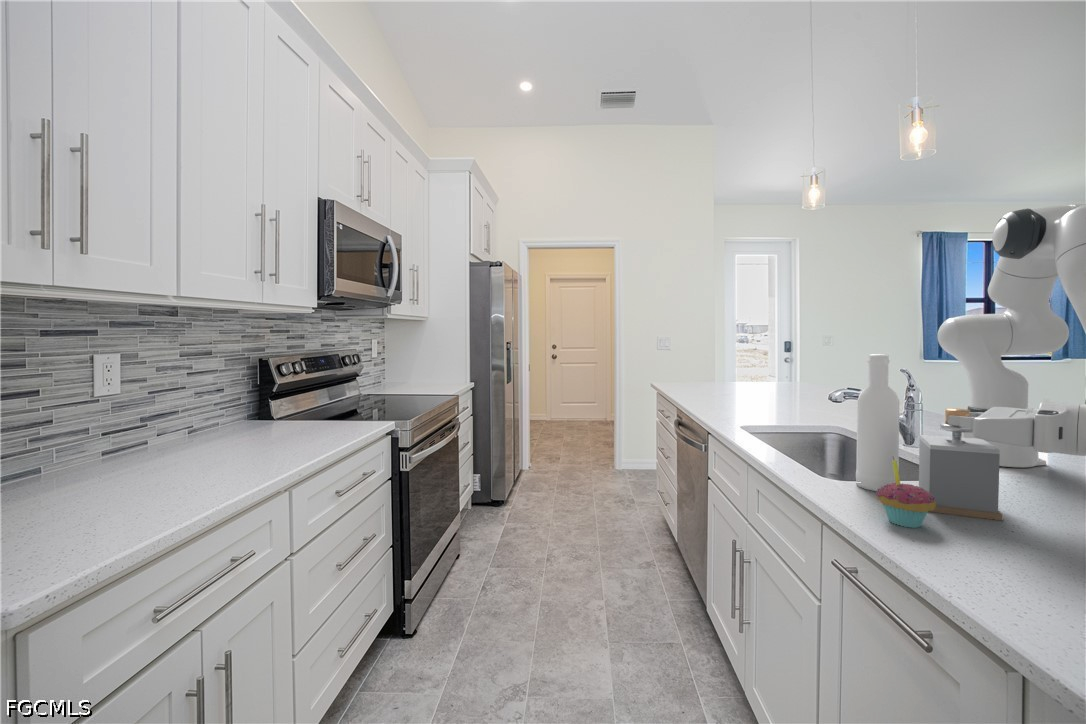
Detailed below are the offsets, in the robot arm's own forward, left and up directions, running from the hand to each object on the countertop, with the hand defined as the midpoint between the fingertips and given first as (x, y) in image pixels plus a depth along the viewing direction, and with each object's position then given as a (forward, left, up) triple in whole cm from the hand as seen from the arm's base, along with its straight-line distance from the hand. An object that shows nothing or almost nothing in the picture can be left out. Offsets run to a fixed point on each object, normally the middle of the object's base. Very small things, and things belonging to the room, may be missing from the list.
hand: (951, 418), depth 94 cm
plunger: (0, +1, -16) cm, 16 cm away
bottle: (-8, -11, -18) cm, 22 cm away
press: (0, +1, -18) cm, 18 cm away
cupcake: (+14, -9, -18) cm, 25 cm away
